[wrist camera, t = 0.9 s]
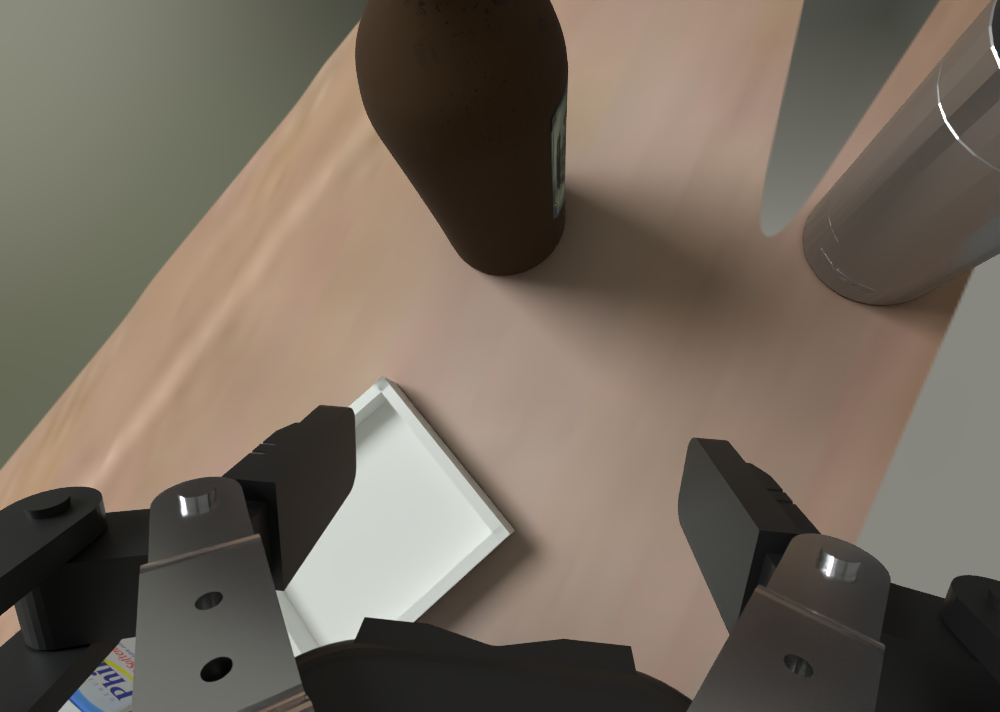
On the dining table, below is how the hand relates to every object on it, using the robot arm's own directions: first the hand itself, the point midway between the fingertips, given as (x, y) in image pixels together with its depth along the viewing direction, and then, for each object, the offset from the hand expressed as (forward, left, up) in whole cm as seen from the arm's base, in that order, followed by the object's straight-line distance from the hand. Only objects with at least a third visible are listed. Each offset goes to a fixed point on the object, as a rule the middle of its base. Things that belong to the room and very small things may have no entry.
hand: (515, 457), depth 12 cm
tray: (+13, -6, -24) cm, 28 cm away
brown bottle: (-10, -17, -24) cm, 31 cm away
